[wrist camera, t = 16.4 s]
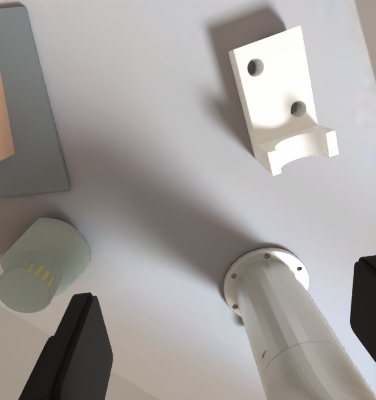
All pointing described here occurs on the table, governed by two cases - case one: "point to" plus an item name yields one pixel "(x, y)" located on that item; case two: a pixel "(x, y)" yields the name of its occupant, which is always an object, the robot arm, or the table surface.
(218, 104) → the table surface
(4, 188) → the mat
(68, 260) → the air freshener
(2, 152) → the card box
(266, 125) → the bracket
